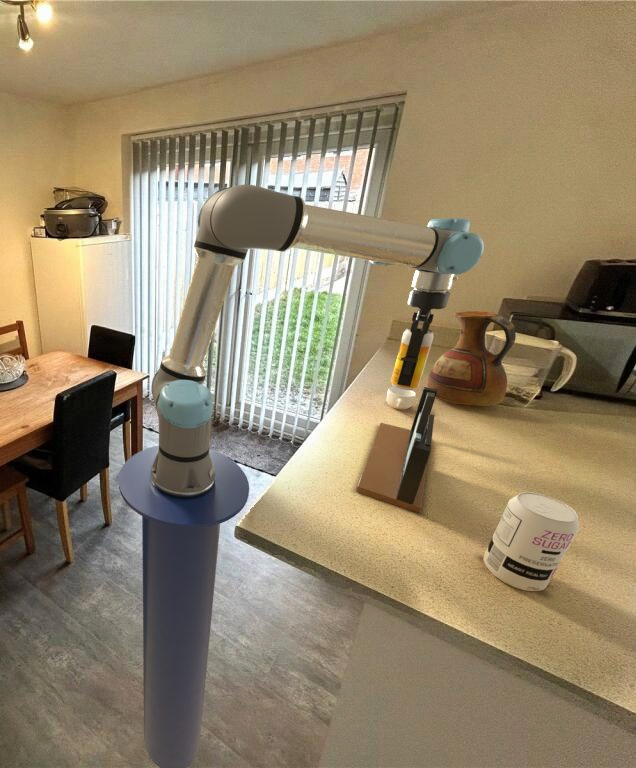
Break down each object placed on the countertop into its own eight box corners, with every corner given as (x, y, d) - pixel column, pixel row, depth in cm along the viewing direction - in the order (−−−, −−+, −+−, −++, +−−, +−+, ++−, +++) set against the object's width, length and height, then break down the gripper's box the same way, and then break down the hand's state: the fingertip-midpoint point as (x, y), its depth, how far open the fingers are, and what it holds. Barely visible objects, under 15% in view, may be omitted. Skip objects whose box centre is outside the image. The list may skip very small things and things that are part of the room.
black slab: (400, 482, 88) (426, 401, 80) (407, 450, 99) (430, 377, 91) (407, 484, 87) (433, 403, 79) (413, 452, 99) (436, 378, 91)
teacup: (385, 399, 133) (389, 384, 131) (412, 404, 129) (416, 390, 127) (382, 410, 126) (386, 395, 124) (411, 416, 122) (415, 401, 119)
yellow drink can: (389, 380, 105) (403, 325, 99) (416, 384, 102) (432, 328, 96) (391, 388, 100) (406, 331, 94) (419, 392, 97) (437, 334, 91)
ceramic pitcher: (439, 384, 144) (465, 303, 132) (509, 404, 128) (546, 314, 116) (412, 396, 135) (437, 310, 123) (484, 420, 119) (521, 324, 107)
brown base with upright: (356, 491, 90) (371, 434, 84) (379, 426, 116) (391, 379, 110) (419, 513, 83) (440, 452, 77) (428, 439, 110) (444, 389, 104)
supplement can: (501, 550, 74) (532, 485, 68) (556, 586, 66) (596, 517, 60) (470, 561, 71) (500, 495, 65) (524, 600, 64) (563, 530, 58)
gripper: (450, 298, 82) (420, 397, 91) (451, 285, 96) (424, 372, 105) (407, 294, 86) (382, 389, 96) (414, 282, 100) (392, 366, 109)
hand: (404, 380), depth 100 cm, fingers closed on yellow drink can, 6 cm apart
